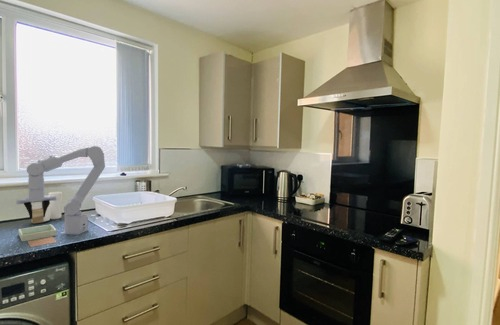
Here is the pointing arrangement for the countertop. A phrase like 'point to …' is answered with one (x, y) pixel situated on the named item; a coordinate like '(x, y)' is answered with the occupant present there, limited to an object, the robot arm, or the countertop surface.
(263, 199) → the countertop surface
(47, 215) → the cup
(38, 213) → the birch block
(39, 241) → the terracotta tile
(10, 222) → the countertop surface
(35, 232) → the pale green bin
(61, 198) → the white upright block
